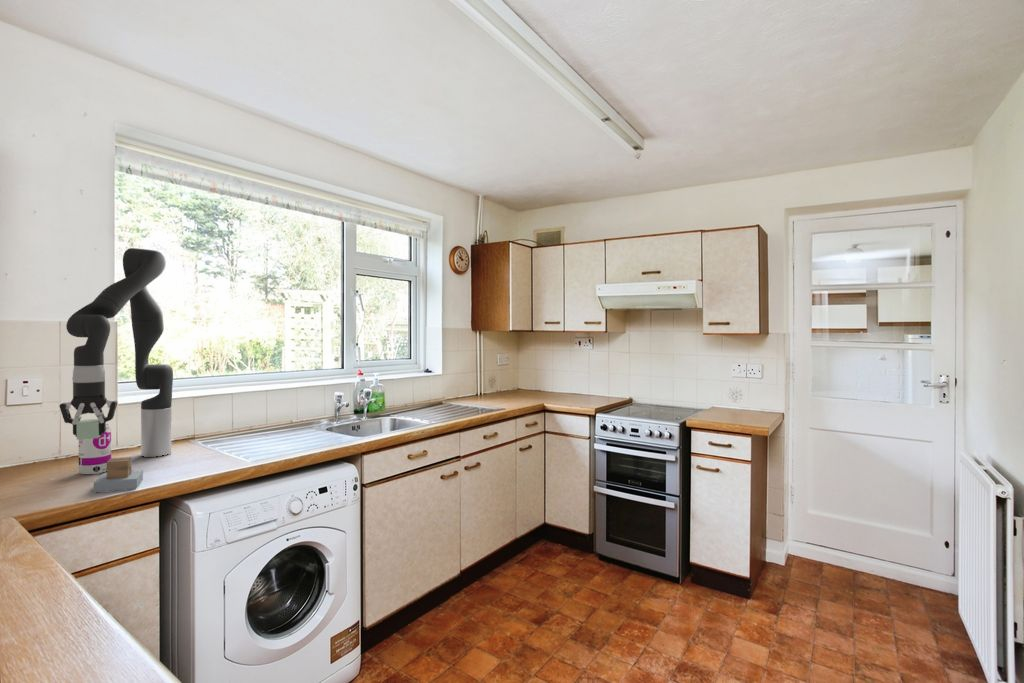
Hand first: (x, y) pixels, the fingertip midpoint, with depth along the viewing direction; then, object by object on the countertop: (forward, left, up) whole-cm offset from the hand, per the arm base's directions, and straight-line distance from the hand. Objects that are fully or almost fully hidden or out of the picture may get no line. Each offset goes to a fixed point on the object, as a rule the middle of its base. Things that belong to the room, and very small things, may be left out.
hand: (89, 435), depth 157 cm
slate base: (+10, +9, -14) cm, 19 cm away
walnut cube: (+10, +9, -11) cm, 18 cm away
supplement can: (-11, -1, -14) cm, 18 cm away
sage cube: (0, 0, -1) cm, 1 cm away
